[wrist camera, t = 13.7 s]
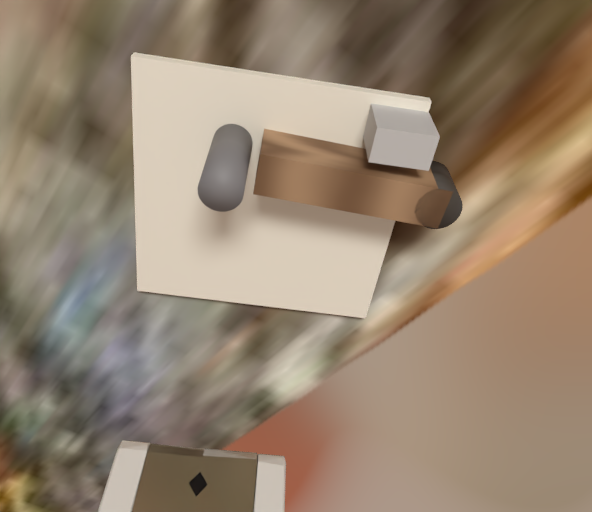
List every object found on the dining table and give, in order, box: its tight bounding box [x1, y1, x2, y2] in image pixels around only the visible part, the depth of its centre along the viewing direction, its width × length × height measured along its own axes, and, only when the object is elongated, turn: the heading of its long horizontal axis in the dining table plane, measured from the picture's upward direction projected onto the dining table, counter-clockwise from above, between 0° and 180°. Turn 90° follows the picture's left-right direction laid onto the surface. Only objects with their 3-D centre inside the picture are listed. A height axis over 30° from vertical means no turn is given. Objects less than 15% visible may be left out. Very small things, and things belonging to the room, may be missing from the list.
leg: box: [253, 129, 462, 229], centre depth 39 cm, size 14×3×4 cm, turn 78°
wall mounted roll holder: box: [131, 52, 440, 318], centre depth 40 cm, size 20×20×8 cm
